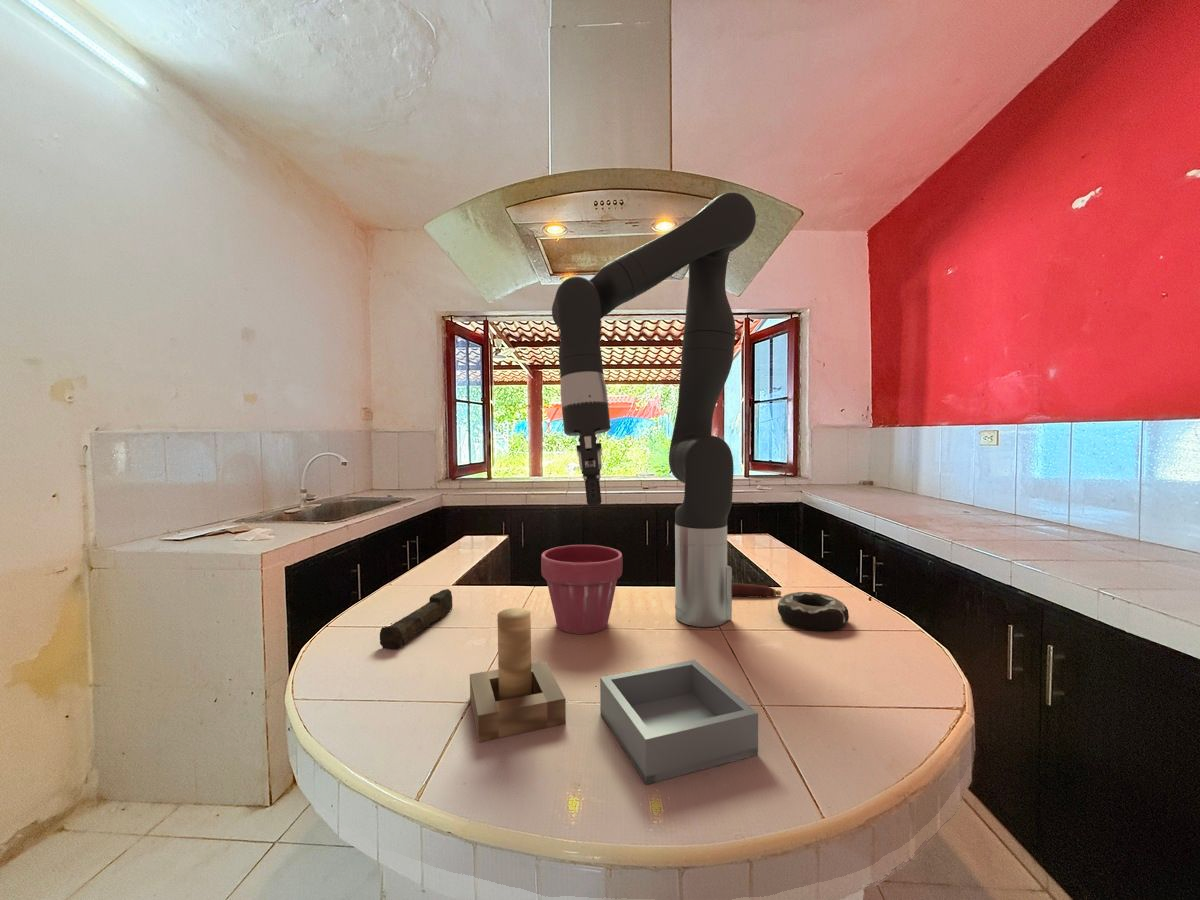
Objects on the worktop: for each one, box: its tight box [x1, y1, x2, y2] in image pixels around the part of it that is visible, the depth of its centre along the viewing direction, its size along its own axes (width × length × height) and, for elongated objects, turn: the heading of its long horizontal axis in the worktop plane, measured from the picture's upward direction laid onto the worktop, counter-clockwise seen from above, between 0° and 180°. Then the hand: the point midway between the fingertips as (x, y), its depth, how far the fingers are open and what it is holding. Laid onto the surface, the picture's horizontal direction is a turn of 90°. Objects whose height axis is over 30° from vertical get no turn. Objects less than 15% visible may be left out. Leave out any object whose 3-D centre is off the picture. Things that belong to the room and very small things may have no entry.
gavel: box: [732, 582, 782, 598], centre depth 104 cm, size 21×5×10 cm
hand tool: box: [379, 588, 454, 651], centre depth 88 cm, size 19×4×5 cm, turn 164°
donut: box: [777, 591, 850, 632], centre depth 90 cm, size 12×12×4 cm
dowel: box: [496, 607, 533, 701], centre depth 61 cm, size 4×4×12 cm
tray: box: [599, 659, 759, 786], centre depth 57 cm, size 13×13×4 cm
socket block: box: [469, 661, 567, 743], centre depth 62 cm, size 10×10×3 cm
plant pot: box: [540, 544, 623, 635], centre depth 89 cm, size 14×14×13 cm
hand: (594, 504), depth 80 cm, fingers open, 8 cm apart
